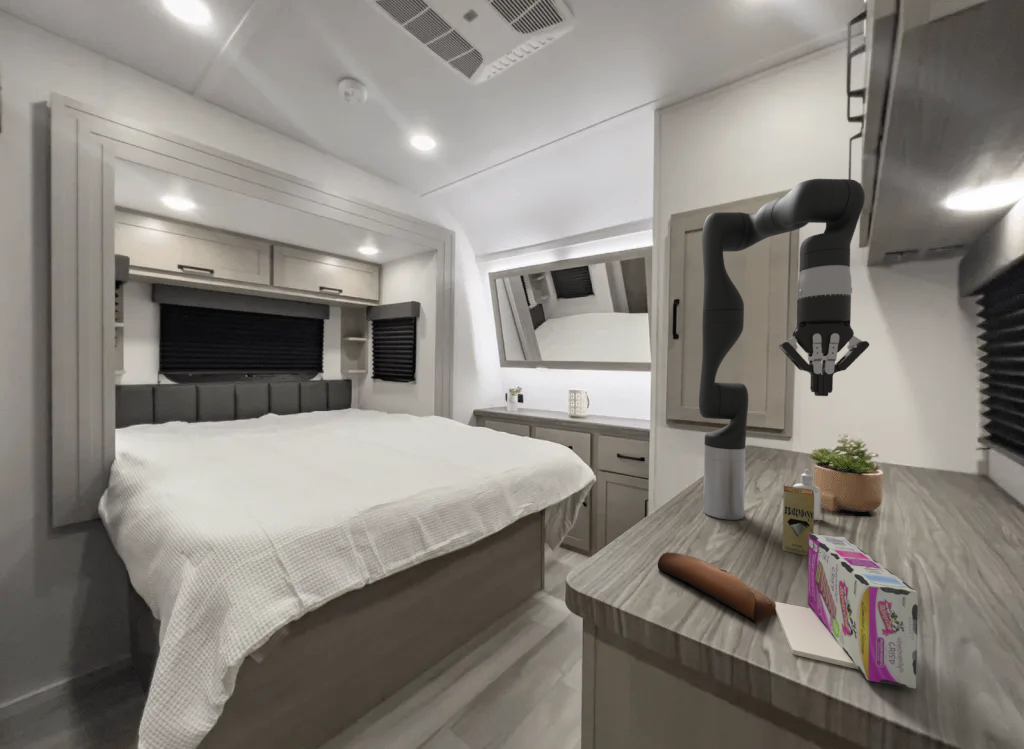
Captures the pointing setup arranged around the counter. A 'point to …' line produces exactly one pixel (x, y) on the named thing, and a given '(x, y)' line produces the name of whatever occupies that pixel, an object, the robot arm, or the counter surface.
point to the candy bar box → (864, 609)
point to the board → (810, 635)
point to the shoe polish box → (797, 519)
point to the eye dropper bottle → (807, 484)
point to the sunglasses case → (718, 585)
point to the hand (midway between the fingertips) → (820, 395)
